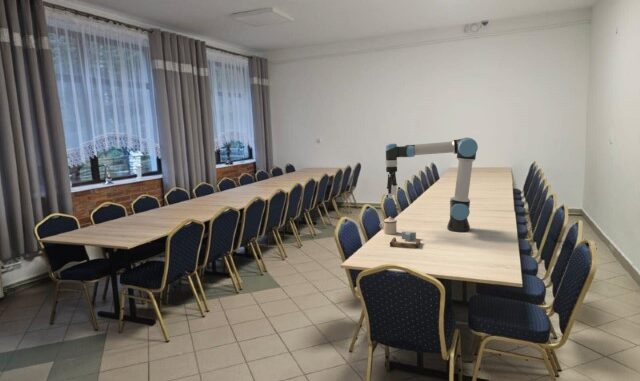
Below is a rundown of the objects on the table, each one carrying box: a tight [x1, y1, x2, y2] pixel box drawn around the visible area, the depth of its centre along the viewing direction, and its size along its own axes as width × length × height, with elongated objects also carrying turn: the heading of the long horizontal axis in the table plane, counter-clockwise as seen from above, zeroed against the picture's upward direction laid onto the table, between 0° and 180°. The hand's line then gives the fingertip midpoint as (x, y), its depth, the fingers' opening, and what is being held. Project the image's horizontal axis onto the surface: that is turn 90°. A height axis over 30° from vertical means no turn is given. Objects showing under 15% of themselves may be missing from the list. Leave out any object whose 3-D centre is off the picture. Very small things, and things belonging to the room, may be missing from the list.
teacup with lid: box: [379, 216, 398, 235], centre depth 281 cm, size 12×9×12 cm
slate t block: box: [401, 230, 417, 242], centre depth 263 cm, size 9×8×4 cm
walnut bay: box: [389, 237, 421, 249], centre depth 252 cm, size 17×12×2 cm
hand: (392, 196), depth 280 cm, fingers open, 13 cm apart
